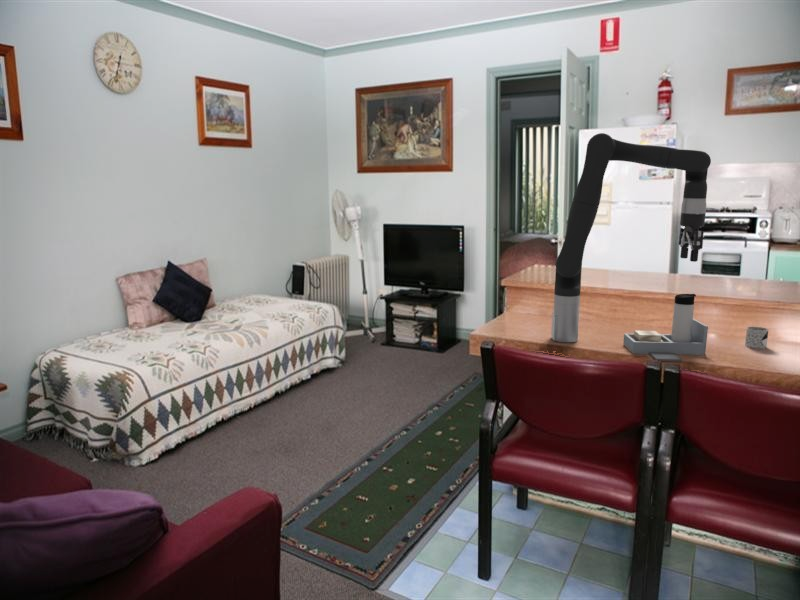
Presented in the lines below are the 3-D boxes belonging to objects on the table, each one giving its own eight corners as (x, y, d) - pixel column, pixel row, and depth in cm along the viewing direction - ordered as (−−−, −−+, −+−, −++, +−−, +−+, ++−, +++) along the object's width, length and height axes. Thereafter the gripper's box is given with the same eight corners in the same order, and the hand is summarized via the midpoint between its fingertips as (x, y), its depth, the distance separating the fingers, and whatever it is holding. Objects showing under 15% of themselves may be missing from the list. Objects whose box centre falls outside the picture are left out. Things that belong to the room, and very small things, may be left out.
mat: (656, 361, 200) (656, 358, 199) (648, 354, 207) (648, 352, 207) (681, 361, 199) (681, 359, 199) (672, 354, 207) (673, 352, 207)
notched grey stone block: (766, 350, 213) (768, 331, 211) (744, 347, 216) (746, 329, 215) (766, 343, 221) (768, 326, 220) (745, 341, 224) (747, 323, 223)
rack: (632, 353, 209) (634, 325, 207) (623, 344, 221) (625, 317, 219) (705, 354, 207) (708, 326, 205) (691, 345, 219) (694, 318, 217)
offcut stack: (638, 351, 211) (639, 335, 210) (633, 346, 218) (634, 330, 217) (662, 352, 210) (664, 335, 209) (656, 347, 217) (657, 330, 216)
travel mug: (693, 352, 210) (698, 295, 206) (672, 351, 211) (677, 295, 207) (688, 347, 216) (693, 292, 212) (668, 347, 217) (673, 292, 213)
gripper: (673, 211, 212) (669, 257, 215) (690, 213, 198) (685, 262, 201) (696, 211, 211) (691, 257, 215) (713, 213, 198) (708, 262, 201)
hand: (688, 259), depth 208 cm, fingers open, 8 cm apart
